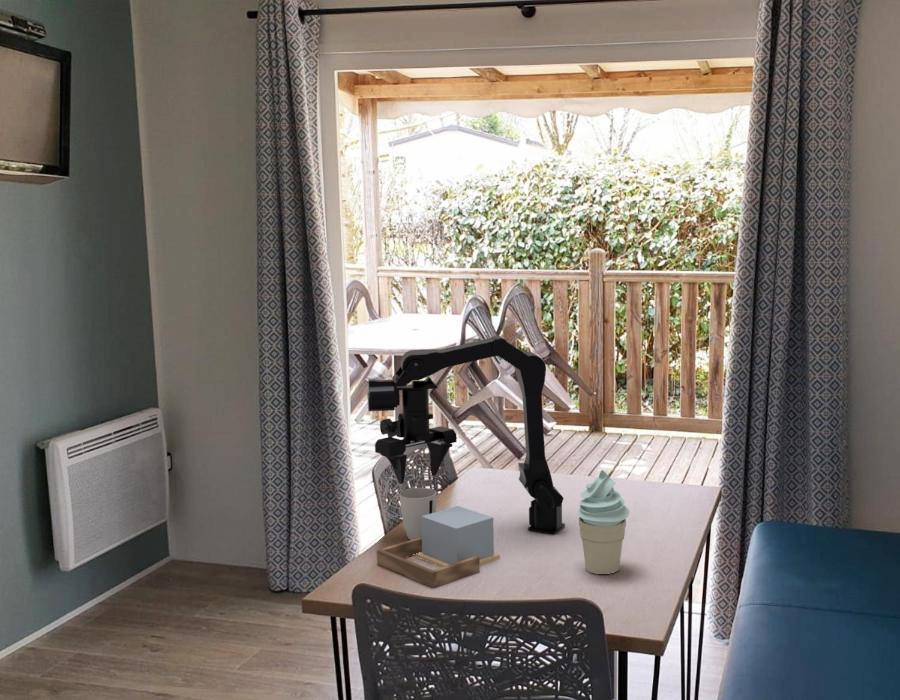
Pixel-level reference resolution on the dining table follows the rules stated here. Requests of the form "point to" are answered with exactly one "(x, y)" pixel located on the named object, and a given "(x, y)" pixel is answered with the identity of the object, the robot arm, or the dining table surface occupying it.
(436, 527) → the tea caddy
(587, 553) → the ice cream cone
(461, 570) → the bay
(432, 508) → the cup
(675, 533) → the dining table surface
